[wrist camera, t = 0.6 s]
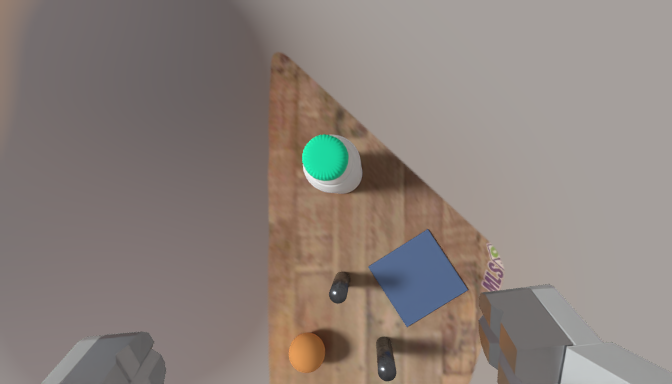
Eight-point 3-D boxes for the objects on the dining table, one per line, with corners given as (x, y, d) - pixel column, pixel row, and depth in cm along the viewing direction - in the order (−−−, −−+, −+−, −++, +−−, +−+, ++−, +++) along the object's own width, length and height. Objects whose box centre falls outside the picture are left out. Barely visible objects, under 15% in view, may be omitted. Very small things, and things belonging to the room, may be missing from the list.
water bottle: (369, 165, 57) (372, 142, 32) (350, 201, 58) (337, 204, 33) (334, 146, 58) (310, 108, 33) (314, 181, 58) (276, 170, 33)
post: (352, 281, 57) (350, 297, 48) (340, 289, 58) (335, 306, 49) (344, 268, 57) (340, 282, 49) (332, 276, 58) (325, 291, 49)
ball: (333, 350, 57) (330, 368, 52) (305, 367, 58) (298, 387, 52) (315, 320, 58) (309, 334, 52) (286, 338, 58) (277, 354, 52)
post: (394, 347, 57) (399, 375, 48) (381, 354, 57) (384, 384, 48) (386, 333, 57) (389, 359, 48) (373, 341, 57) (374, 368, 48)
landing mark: (467, 289, 56) (467, 289, 55) (406, 326, 56) (406, 326, 56) (427, 229, 56) (427, 229, 56) (368, 266, 57) (368, 266, 57)
